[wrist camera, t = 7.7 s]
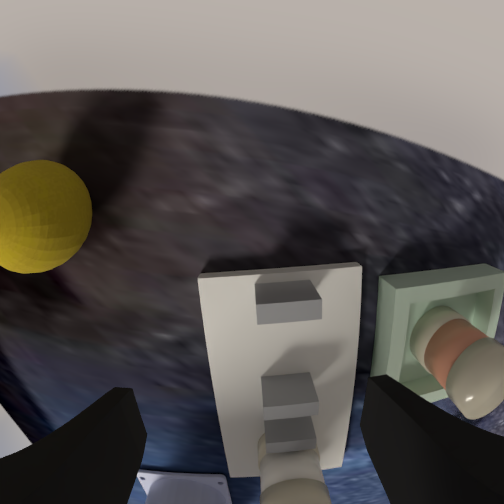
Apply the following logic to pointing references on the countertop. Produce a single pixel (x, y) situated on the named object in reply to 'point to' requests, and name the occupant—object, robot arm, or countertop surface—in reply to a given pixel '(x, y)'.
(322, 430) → the block
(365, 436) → the robot arm
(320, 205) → the countertop surface
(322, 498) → the cylinder
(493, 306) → the parts tray
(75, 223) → the lemon
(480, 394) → the marked fuse
